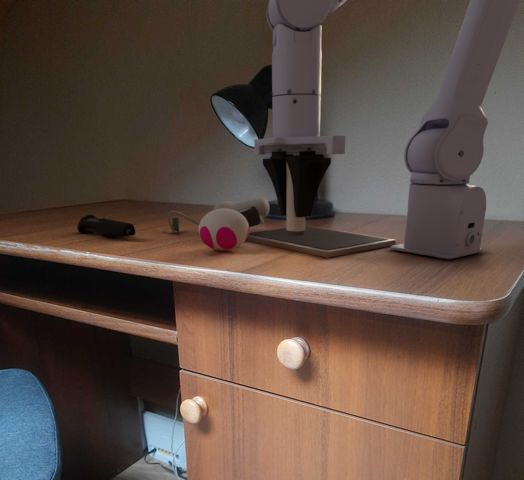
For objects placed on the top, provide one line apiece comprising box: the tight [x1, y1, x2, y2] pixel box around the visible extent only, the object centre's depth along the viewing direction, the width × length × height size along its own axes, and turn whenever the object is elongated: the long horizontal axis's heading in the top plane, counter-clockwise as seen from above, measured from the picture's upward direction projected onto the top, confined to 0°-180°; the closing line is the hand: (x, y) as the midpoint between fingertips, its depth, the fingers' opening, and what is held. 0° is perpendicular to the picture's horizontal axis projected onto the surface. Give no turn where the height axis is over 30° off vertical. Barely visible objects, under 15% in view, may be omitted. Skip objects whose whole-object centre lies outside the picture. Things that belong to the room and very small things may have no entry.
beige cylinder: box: [286, 165, 306, 236], centre depth 62 cm, size 2×2×9 cm
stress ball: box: [197, 208, 250, 254], centre depth 70 cm, size 8×8×7 cm
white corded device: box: [167, 196, 271, 234], centre depth 84 cm, size 12×6×18 cm
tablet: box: [245, 225, 397, 259], centre depth 76 cm, size 20×14×1 cm
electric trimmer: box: [76, 214, 136, 238], centre depth 83 cm, size 4×16×3 cm, turn 45°
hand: (295, 215), depth 63 cm, fingers closed on beige cylinder, 2 cm apart
